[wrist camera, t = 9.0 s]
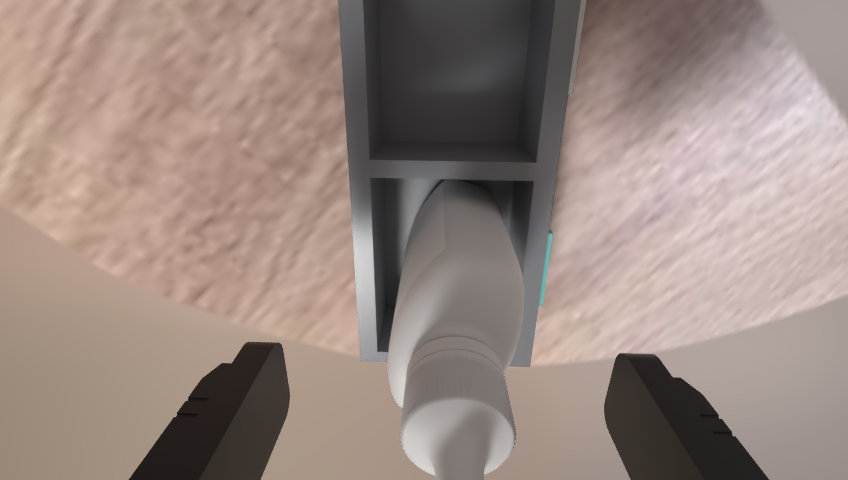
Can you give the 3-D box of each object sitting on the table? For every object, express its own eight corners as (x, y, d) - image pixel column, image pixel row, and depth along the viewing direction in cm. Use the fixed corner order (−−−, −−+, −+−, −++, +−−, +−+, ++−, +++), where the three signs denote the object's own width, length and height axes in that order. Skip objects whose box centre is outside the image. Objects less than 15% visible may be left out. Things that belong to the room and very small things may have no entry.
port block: (363, -79, 15) (330, -138, 11) (559, -78, 15) (612, -139, 10) (377, 297, 21) (360, 361, 17) (516, 300, 21) (537, 367, 17)
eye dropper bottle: (368, 244, 19) (265, 510, 8) (464, 159, 17) (510, 344, 6) (433, 307, 20) (427, 616, 9) (529, 233, 18) (668, 501, 7)
